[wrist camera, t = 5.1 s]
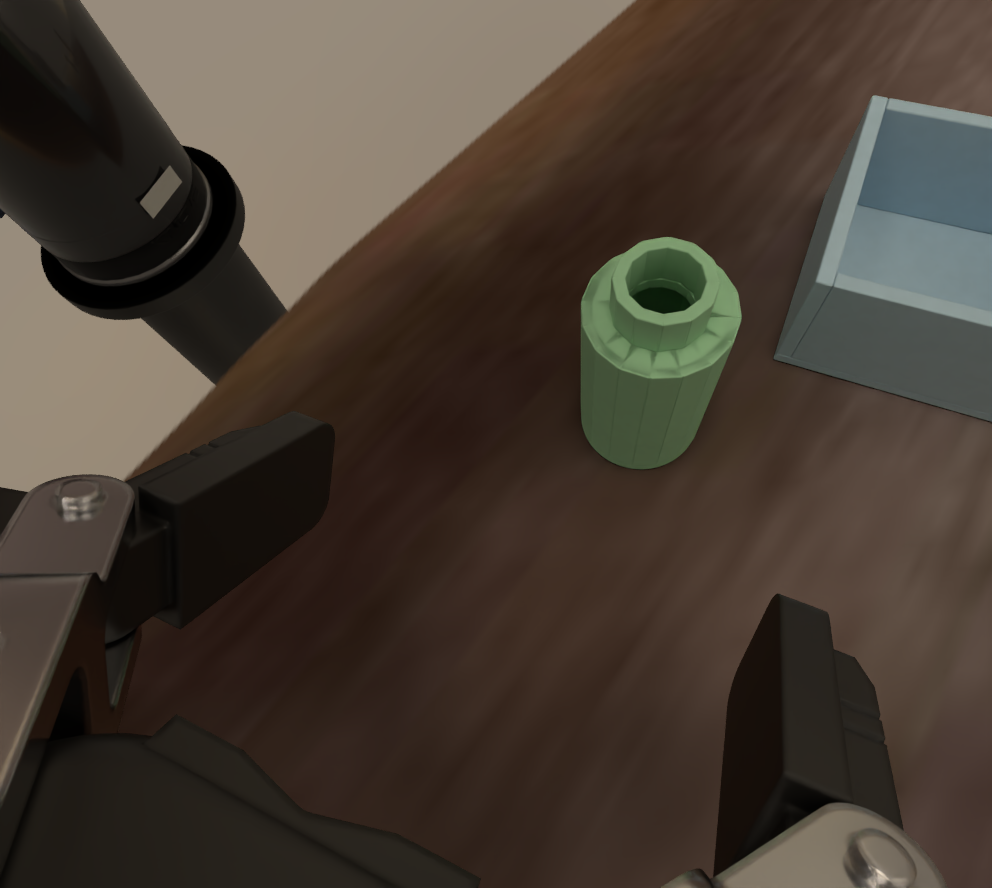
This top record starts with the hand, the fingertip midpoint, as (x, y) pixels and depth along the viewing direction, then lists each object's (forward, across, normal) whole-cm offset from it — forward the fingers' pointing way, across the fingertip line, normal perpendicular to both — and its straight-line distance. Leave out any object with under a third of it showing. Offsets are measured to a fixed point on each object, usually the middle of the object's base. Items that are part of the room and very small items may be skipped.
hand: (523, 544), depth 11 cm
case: (+24, -9, -3) cm, 25 cm away
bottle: (+17, 0, +4) cm, 17 cm away
